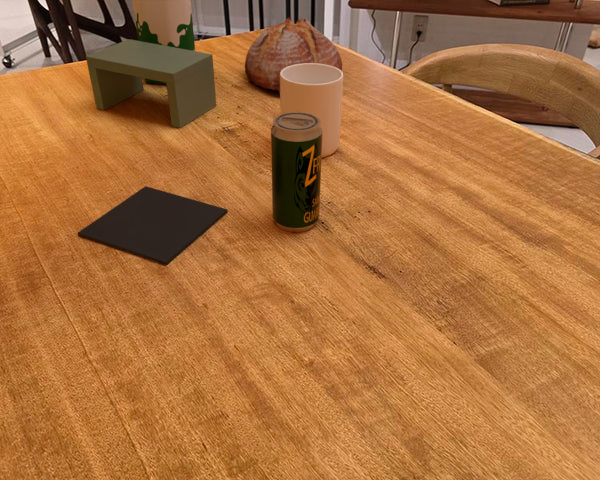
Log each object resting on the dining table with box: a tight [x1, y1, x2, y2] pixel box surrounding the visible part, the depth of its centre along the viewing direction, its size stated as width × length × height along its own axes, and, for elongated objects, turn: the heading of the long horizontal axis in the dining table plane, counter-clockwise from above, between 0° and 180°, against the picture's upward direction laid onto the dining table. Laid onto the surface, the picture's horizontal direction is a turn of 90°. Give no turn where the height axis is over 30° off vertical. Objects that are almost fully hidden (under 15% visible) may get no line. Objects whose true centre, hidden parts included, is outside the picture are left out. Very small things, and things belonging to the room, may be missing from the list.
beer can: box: [270, 112, 322, 233], centre depth 64 cm, size 5×5×12 cm
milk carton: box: [131, 0, 196, 86], centre depth 98 cm, size 9×9×20 cm
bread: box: [244, 16, 343, 94], centre depth 102 cm, size 16×20×10 cm
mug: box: [279, 63, 344, 159], centre depth 82 cm, size 12×8×10 cm
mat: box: [77, 185, 229, 266], centre depth 67 cm, size 12×12×1 cm
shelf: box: [85, 38, 217, 129], centre depth 91 cm, size 16×10×8 cm, turn 63°
